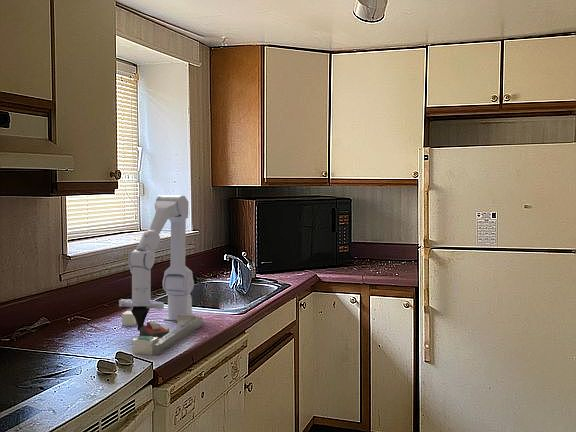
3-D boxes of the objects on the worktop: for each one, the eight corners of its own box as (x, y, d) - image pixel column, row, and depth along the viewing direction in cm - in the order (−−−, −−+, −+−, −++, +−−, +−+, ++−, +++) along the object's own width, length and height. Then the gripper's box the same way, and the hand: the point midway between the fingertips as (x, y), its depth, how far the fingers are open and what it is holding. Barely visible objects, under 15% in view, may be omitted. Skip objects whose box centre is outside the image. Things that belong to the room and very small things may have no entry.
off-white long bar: (179, 324, 208) (179, 311, 208) (201, 325, 207) (201, 312, 206) (132, 353, 174) (132, 338, 174) (159, 355, 173) (158, 340, 172)
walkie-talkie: (179, 341, 188) (157, 326, 205) (179, 326, 187) (157, 313, 205) (151, 345, 183) (131, 330, 200) (151, 330, 183) (131, 316, 200)
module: (126, 322, 211) (126, 310, 211) (138, 322, 211) (138, 310, 210) (122, 325, 206) (122, 314, 206) (133, 326, 206) (133, 314, 206)
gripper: (114, 288, 191) (114, 331, 192) (157, 291, 188) (156, 335, 189) (125, 284, 198) (125, 325, 199) (166, 287, 195) (166, 329, 196)
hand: (141, 329), depth 195 cm, fingers closed, pressing on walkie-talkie
